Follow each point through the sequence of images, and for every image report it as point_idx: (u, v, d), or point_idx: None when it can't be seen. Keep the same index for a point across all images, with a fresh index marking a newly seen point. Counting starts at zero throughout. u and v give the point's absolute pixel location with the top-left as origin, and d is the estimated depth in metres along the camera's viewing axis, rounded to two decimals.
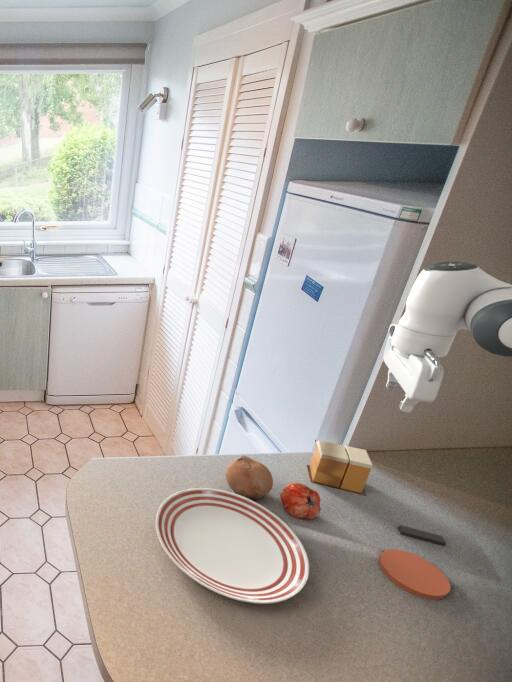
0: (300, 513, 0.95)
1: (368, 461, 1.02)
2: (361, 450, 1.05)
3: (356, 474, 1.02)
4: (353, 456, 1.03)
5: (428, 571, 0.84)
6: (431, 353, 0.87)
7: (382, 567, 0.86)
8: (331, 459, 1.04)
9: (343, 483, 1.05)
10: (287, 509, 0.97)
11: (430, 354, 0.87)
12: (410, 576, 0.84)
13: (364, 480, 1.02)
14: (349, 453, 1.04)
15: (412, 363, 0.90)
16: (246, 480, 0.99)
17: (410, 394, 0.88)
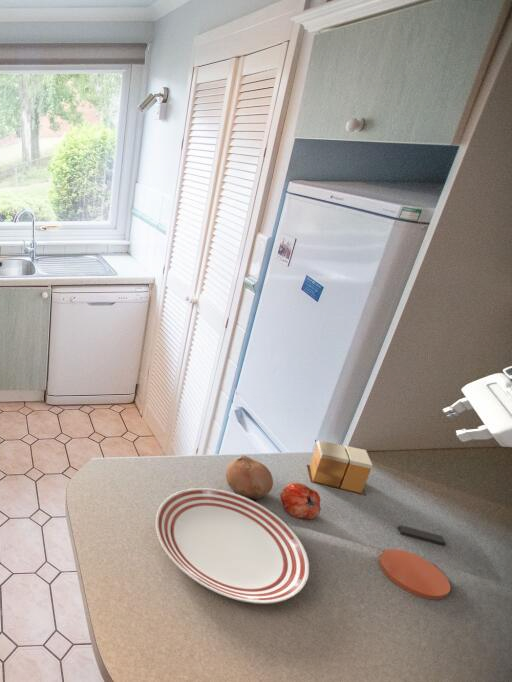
0: (300, 513, 0.95)
1: (368, 461, 1.02)
2: (361, 450, 1.05)
3: (356, 474, 1.02)
4: (353, 456, 1.03)
5: (428, 571, 0.84)
6: None
7: (382, 567, 0.86)
8: (331, 459, 1.04)
9: (343, 483, 1.05)
10: (287, 509, 0.97)
11: None
12: (410, 576, 0.84)
13: (364, 480, 1.02)
14: (349, 453, 1.04)
15: None
16: (246, 480, 0.99)
17: (498, 429, 0.82)
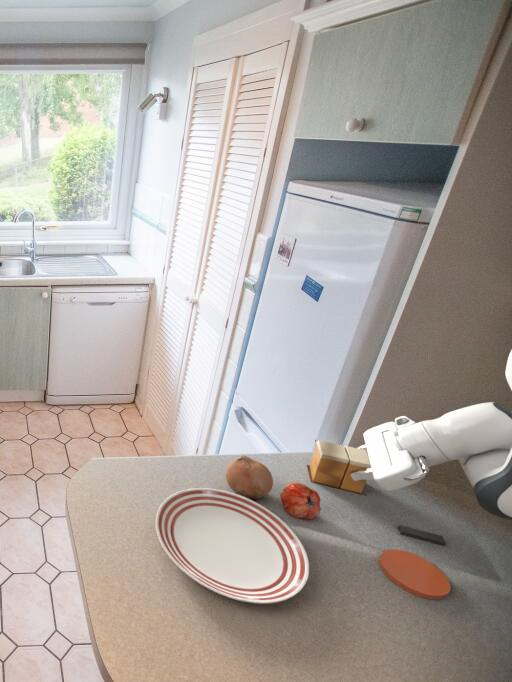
0: (300, 513, 0.95)
1: (368, 461, 1.02)
2: (361, 450, 1.05)
3: None
4: (353, 456, 1.03)
5: (428, 571, 0.84)
6: (425, 462, 0.92)
7: (382, 567, 0.86)
8: (331, 459, 1.04)
9: (343, 483, 1.04)
10: (287, 509, 0.97)
11: (424, 462, 0.92)
12: (410, 576, 0.84)
13: (364, 480, 1.02)
14: (349, 453, 1.04)
15: (401, 456, 0.95)
16: (246, 480, 0.99)
17: (379, 476, 0.95)
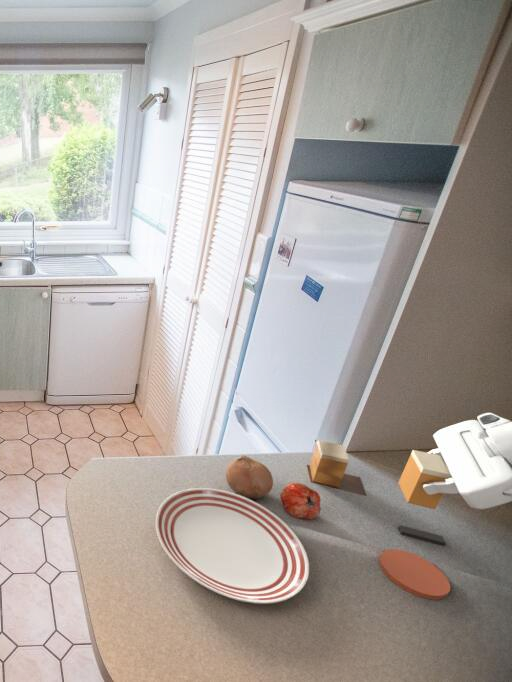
0: (300, 513, 0.95)
1: (445, 469, 0.80)
2: (434, 455, 0.84)
3: None
4: (425, 463, 0.82)
5: (428, 571, 0.84)
6: None
7: (382, 567, 0.86)
8: (331, 459, 1.04)
9: (411, 497, 0.83)
10: (287, 509, 0.97)
11: None
12: (410, 576, 0.84)
13: (440, 493, 0.81)
14: (419, 459, 0.83)
15: (495, 464, 0.74)
16: (246, 480, 0.99)
17: (467, 489, 0.74)
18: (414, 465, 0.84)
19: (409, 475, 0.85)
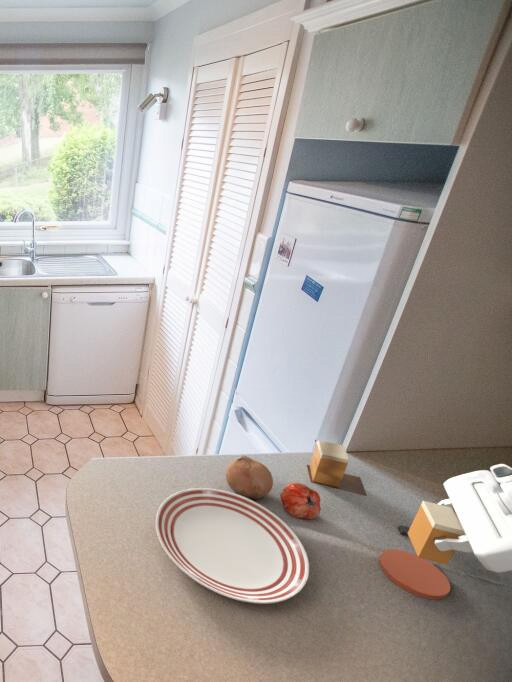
0: (300, 513, 0.95)
1: (458, 525, 0.77)
2: (445, 507, 0.80)
3: None
4: (437, 517, 0.78)
5: (428, 571, 0.84)
6: None
7: (382, 567, 0.86)
8: (331, 459, 1.04)
9: (422, 551, 0.80)
10: (287, 509, 0.97)
11: None
12: (410, 576, 0.84)
13: None
14: (430, 512, 0.79)
15: None
16: (246, 480, 0.99)
17: (482, 551, 0.70)
18: (425, 517, 0.80)
19: (419, 527, 0.82)
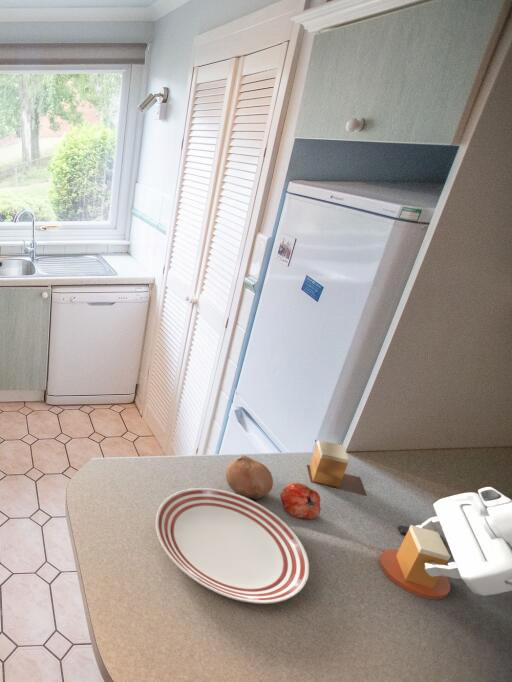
0: (300, 513, 0.95)
1: (444, 550, 0.79)
2: (432, 532, 0.83)
3: None
4: (423, 542, 0.81)
5: None
6: None
7: (382, 567, 0.86)
8: (331, 459, 1.04)
9: (409, 575, 0.82)
10: (287, 509, 0.97)
11: None
12: None
13: None
14: (417, 537, 0.82)
15: (497, 548, 0.73)
16: (246, 480, 0.99)
17: (468, 574, 0.72)
18: (412, 542, 0.83)
19: (406, 551, 0.84)
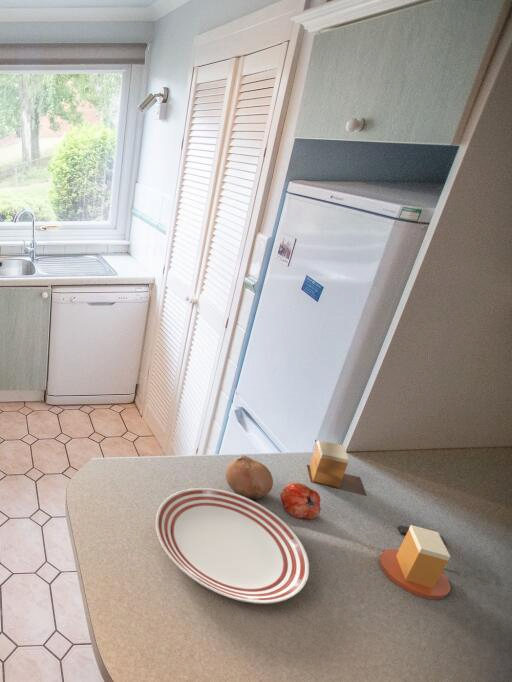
0: (300, 513, 0.95)
1: (444, 550, 0.79)
2: (432, 532, 0.83)
3: (428, 565, 0.80)
4: (423, 542, 0.81)
5: None
6: None
7: (382, 567, 0.86)
8: (331, 459, 1.04)
9: (409, 575, 0.82)
10: (287, 509, 0.97)
11: None
12: None
13: (438, 574, 0.80)
14: (417, 537, 0.82)
15: None
16: (246, 480, 0.99)
17: None
18: (412, 542, 0.83)
19: (406, 551, 0.84)
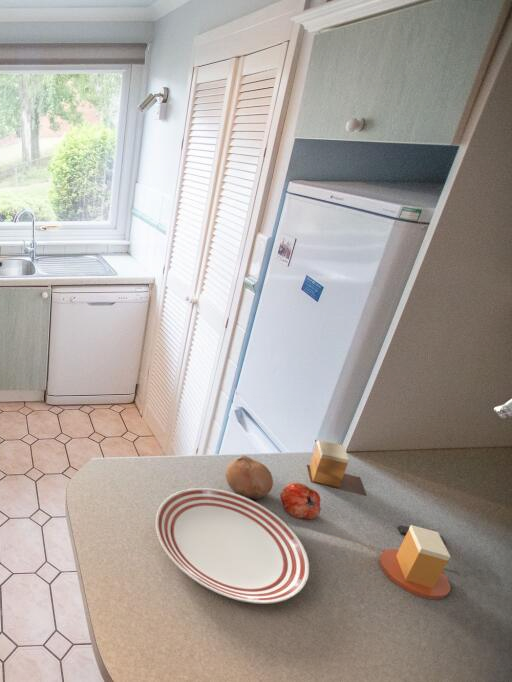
0: (300, 513, 0.95)
1: (444, 550, 0.79)
2: (432, 532, 0.83)
3: (428, 565, 0.80)
4: (423, 542, 0.81)
5: None
6: None
7: (382, 567, 0.86)
8: (331, 459, 1.04)
9: (409, 575, 0.82)
10: (287, 509, 0.97)
11: None
12: None
13: (438, 574, 0.80)
14: (417, 537, 0.82)
15: None
16: (246, 480, 0.99)
17: None
18: (412, 542, 0.83)
19: (406, 551, 0.84)
